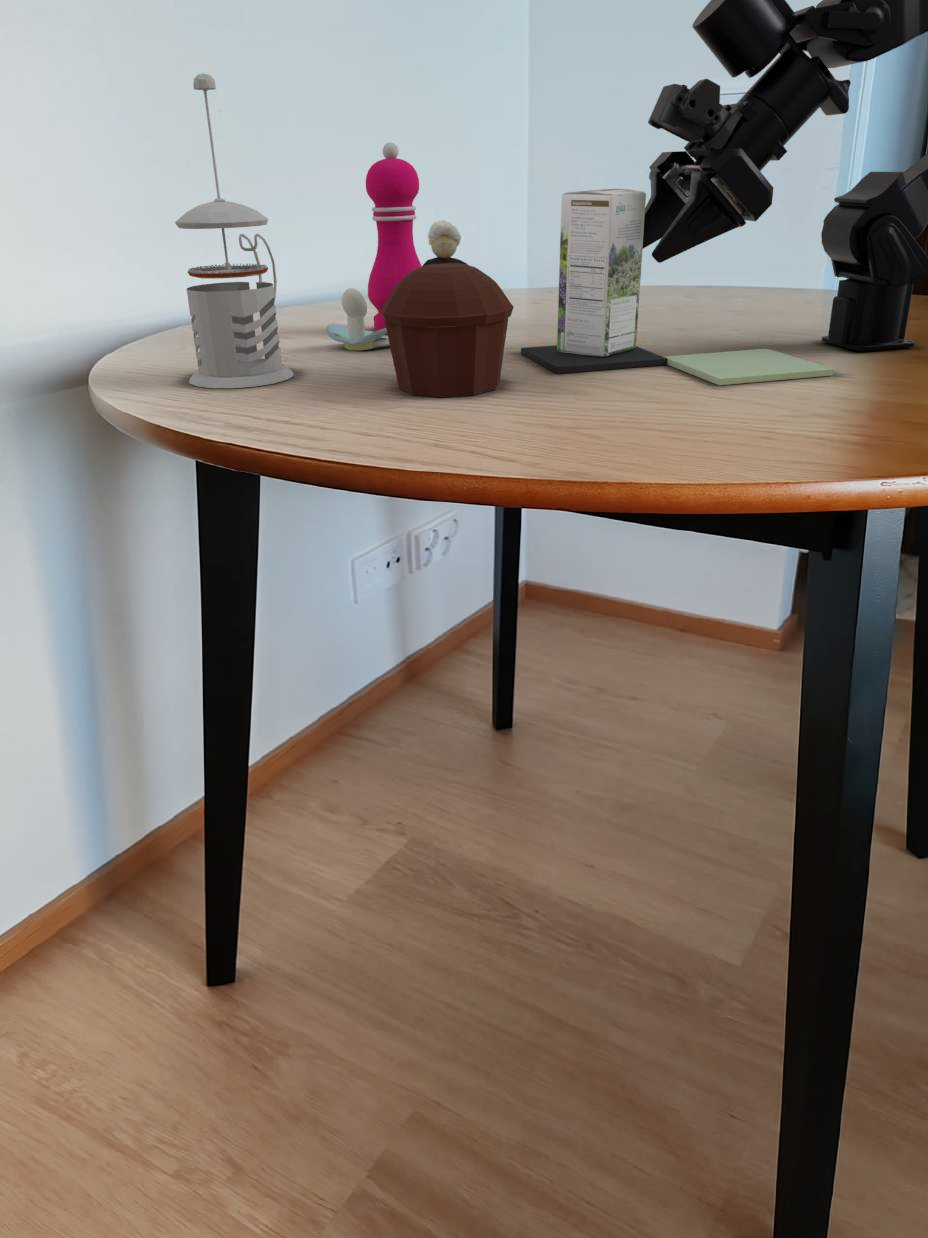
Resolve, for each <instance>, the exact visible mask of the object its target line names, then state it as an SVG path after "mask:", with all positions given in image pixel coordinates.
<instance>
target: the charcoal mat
mask: <svg viewBox="0 0 928 1238" xmlns="http://www.w3.org/2000/svg"><path fill="white" fill-rule="evenodd" d="M520 354H521V355H522V356H524V357H526V358H528V359H530V360H531V361H533V362H535V363H537V364H539V365H541V366H542V367H544V368H546V369H547V370H550V371H551V372H553V373H555V374H557V375H559V374H570V373H583V372H594V371H608V370H609V371H610V370H619V369H633V368H645V367H656V366H657V367H658V366H666V365H667V358H665V357H666V356H663V355H661V354H660V355H659V354H657V353H654V352H652V351H649V350H646V349H644V348H641V347H639V346H637V345H636V347H635V348H634V349H631V350H628V351H624V352H621V353H617V354H613V355H609V356H605V357H600V356H591V355H581V354H572V353H564V352H559V351H558V350H557V344H555V345H541V346H527V347H520ZM667 366H668V365H667Z"/></svg>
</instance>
